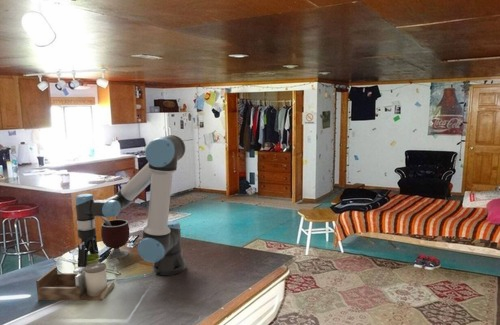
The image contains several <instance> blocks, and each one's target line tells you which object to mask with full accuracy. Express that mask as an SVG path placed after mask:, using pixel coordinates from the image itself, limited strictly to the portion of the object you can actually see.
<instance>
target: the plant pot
mask: <svg viewBox="0 0 500 325" xmlns="http://www.w3.org/2000/svg"><path fill="white" fill-rule="evenodd" d="M98 254H99V253H98ZM98 254H90V253H88V256H87V263H86V266H87V265H89V264H92V263H99V262H100V260H99V259H100V254H99V255H98Z"/></svg>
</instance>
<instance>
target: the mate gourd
mask: <svg viewBox="0 0 500 325" xmlns="http://www.w3.org/2000/svg"><path fill="white" fill-rule="evenodd" d="M99 218H100V219H102V221H103V222H102V223H101V227H100V228H101V229H100V234H101V235H100V236H101V241H102V244H103V245H105V246H106V248H110V249H112V251H111V250H110V251H111V252H110V254H109V257H108V258H118V259H123V258H125V257H127V256H128V255H129V254H130V251H129V250H128V249H124V248H122V247H124V246H125V245H127V243H128V242H129V238H130V228H129V222H128V220H127V219H117V218H116V219H110V220H109V219H108V218H107V217H100V216H99ZM108 258H107V259H108Z"/></svg>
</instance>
